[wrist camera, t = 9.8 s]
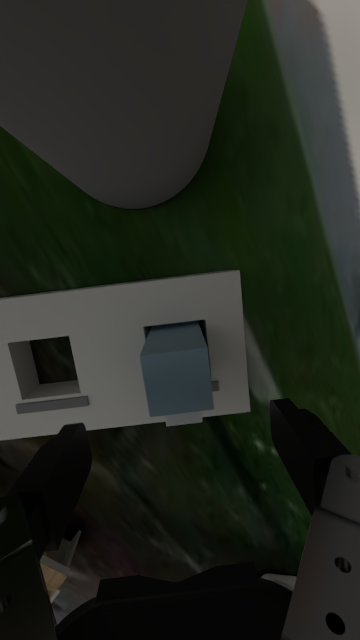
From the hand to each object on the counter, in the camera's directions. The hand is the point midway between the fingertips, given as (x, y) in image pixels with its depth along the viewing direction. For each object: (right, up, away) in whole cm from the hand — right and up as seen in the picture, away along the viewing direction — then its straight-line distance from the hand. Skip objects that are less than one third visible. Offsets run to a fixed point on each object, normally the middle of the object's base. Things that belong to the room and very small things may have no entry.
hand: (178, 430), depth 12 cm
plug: (0, +3, +14) cm, 14 cm away
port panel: (-6, +2, +14) cm, 15 cm away
